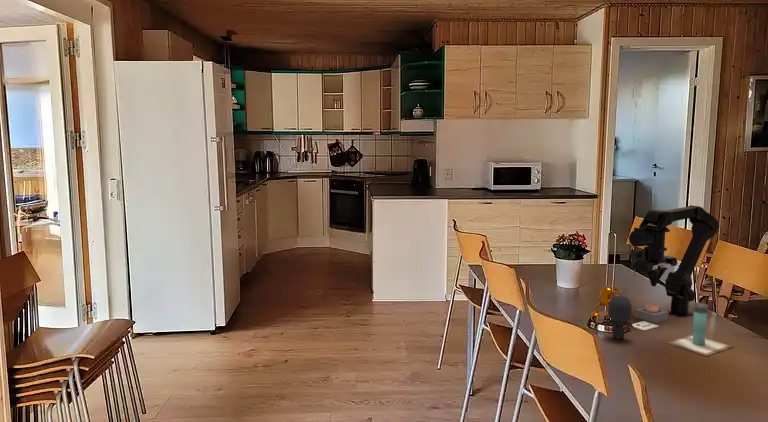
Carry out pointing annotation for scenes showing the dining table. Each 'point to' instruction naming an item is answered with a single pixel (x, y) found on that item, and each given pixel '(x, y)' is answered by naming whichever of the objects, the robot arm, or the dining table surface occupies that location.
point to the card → (644, 325)
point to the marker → (699, 323)
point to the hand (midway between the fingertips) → (653, 286)
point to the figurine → (605, 299)
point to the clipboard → (705, 350)
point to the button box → (651, 315)
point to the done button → (652, 308)
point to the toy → (619, 315)
